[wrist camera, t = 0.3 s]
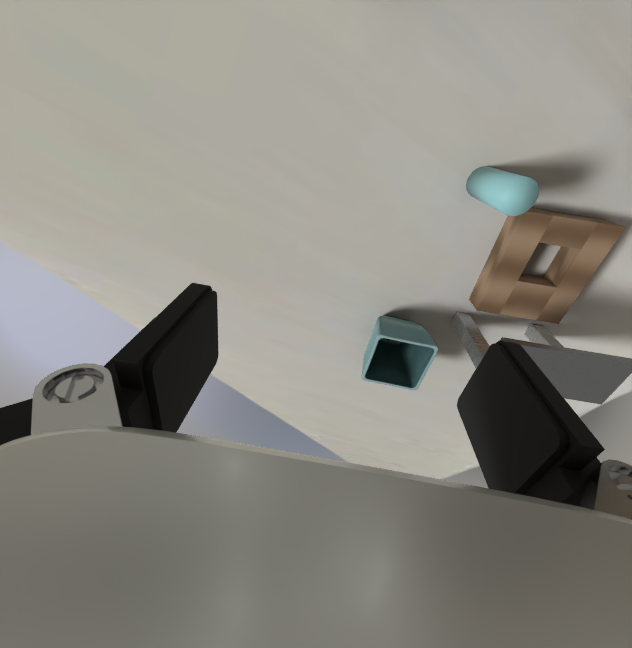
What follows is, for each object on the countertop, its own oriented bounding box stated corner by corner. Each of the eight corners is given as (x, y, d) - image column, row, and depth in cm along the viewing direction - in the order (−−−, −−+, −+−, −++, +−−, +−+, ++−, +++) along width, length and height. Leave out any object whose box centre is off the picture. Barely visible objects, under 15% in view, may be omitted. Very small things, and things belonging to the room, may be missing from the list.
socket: (513, 205, 39) (526, 211, 36) (604, 219, 39) (625, 227, 36) (468, 299, 47) (476, 310, 44) (545, 311, 47) (558, 323, 44)
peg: (473, 164, 37) (509, 174, 29) (502, 168, 37) (546, 180, 29) (461, 195, 39) (492, 212, 31) (489, 199, 39) (527, 218, 31)
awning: (464, 285, 46) (505, 342, 34) (562, 302, 46) (639, 364, 34) (448, 321, 49) (480, 384, 37) (539, 336, 49) (601, 404, 37)
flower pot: (407, 355, 54) (416, 392, 46) (359, 345, 54) (360, 380, 46) (426, 314, 49) (440, 347, 42) (373, 302, 49) (377, 334, 41)
